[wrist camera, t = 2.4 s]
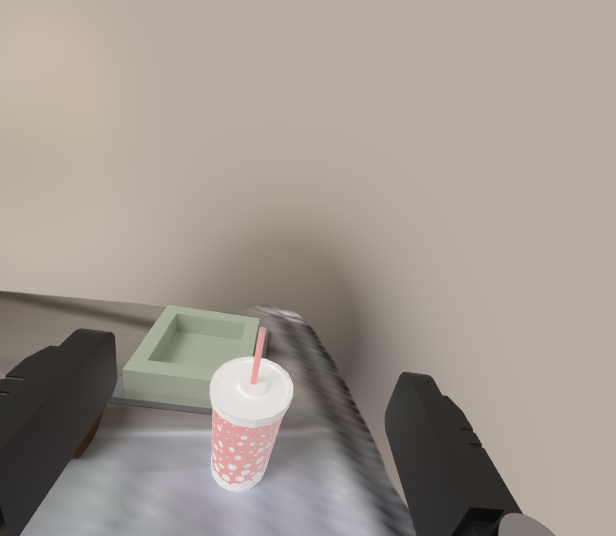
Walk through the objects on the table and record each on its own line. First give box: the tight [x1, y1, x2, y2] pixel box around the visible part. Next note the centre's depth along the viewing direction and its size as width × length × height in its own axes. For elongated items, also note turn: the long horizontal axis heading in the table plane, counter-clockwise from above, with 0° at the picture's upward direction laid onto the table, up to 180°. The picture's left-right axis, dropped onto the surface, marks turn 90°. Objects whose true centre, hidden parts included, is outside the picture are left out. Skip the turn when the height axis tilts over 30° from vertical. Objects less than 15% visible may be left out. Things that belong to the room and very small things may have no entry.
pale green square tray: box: [109, 305, 269, 415], centre depth 36 cm, size 14×14×4 cm
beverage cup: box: [209, 327, 293, 492], centre depth 24 cm, size 6×6×14 cm
